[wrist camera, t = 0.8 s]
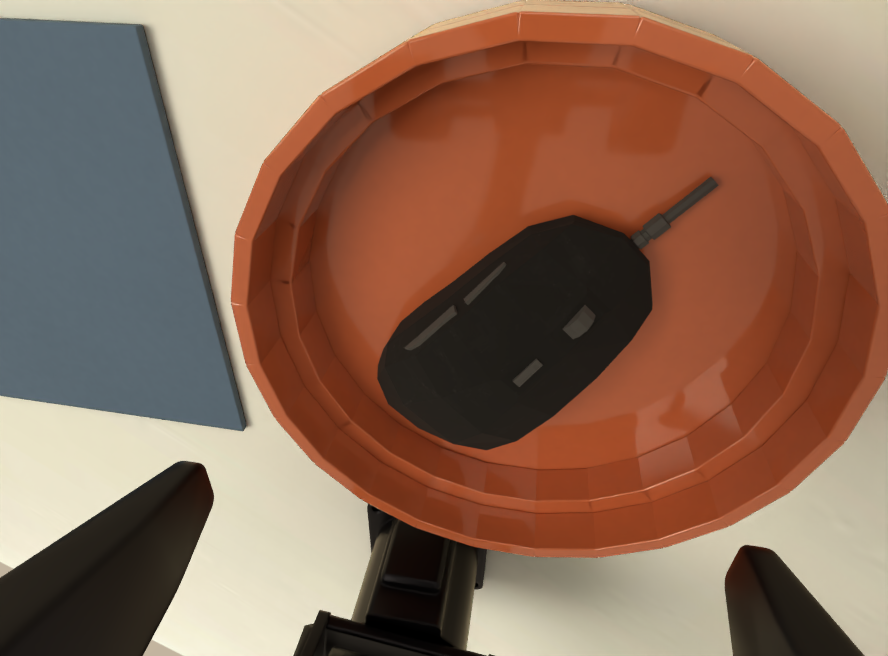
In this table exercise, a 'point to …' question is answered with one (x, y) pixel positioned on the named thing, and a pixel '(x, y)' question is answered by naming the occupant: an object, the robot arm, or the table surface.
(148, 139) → the mouse pad
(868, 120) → the table surface
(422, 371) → the gaming mouse
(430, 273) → the bowl
